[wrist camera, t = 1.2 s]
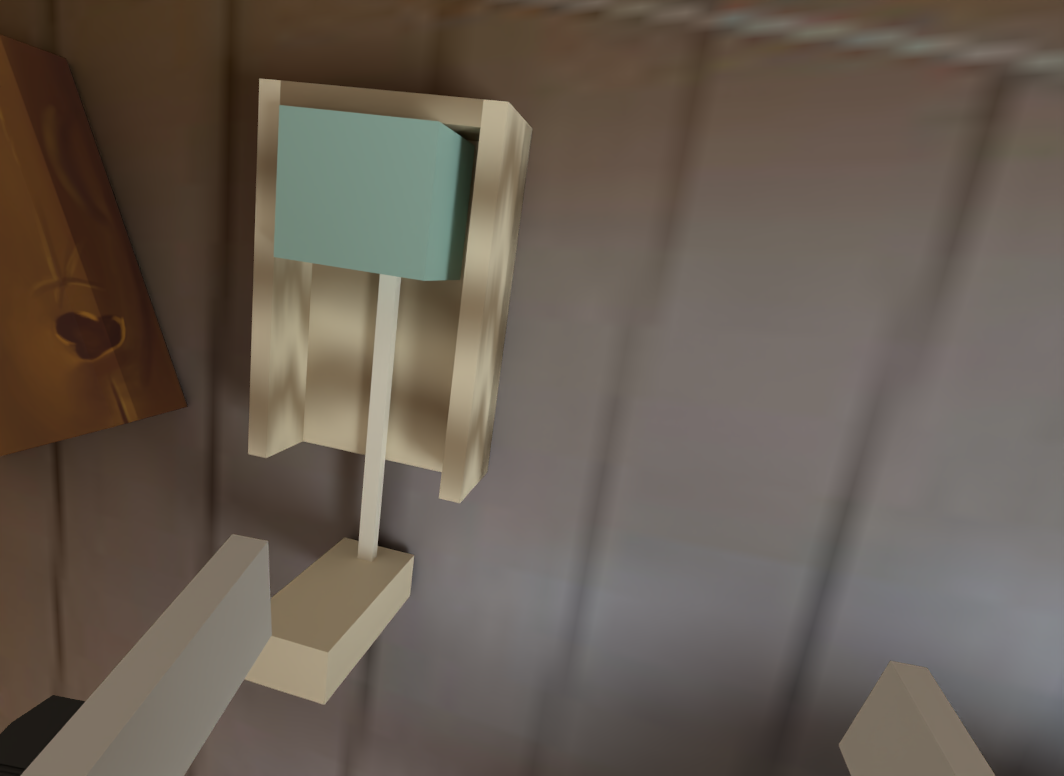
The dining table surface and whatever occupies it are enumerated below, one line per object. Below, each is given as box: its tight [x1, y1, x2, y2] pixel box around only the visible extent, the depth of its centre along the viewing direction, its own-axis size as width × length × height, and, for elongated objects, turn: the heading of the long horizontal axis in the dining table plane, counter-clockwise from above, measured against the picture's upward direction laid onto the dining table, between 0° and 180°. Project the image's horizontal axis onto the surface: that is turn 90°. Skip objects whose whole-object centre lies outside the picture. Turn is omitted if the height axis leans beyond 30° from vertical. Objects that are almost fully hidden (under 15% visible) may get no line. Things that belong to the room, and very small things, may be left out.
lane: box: [248, 78, 532, 503], centre depth 32 cm, size 20×13×5 cm, turn 172°
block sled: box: [244, 105, 475, 705], centre depth 30 cm, size 28×8×10 cm, turn 172°
